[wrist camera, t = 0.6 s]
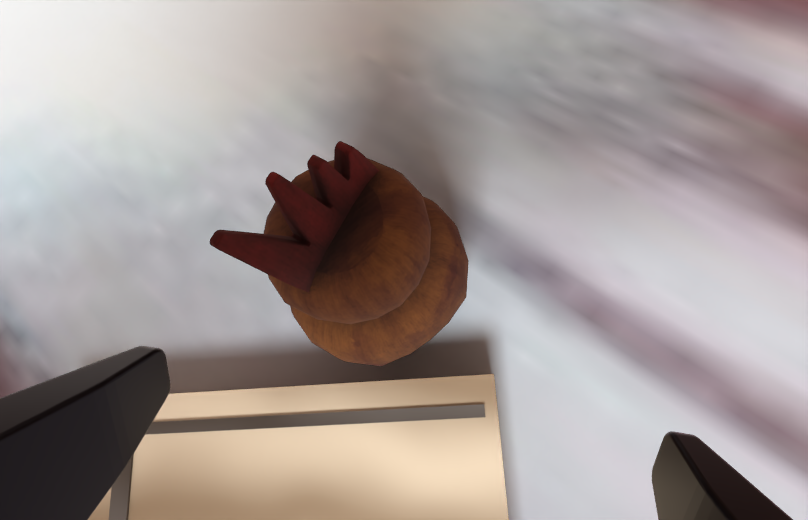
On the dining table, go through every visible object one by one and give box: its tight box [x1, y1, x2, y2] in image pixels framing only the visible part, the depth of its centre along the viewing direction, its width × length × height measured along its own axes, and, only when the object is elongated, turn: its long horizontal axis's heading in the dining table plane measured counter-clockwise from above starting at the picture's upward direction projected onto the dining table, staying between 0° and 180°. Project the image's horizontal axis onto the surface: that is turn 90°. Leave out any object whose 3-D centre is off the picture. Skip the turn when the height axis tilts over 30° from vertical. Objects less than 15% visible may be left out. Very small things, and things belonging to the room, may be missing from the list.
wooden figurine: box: [210, 141, 468, 366], centre depth 16 cm, size 7×6×15 cm
